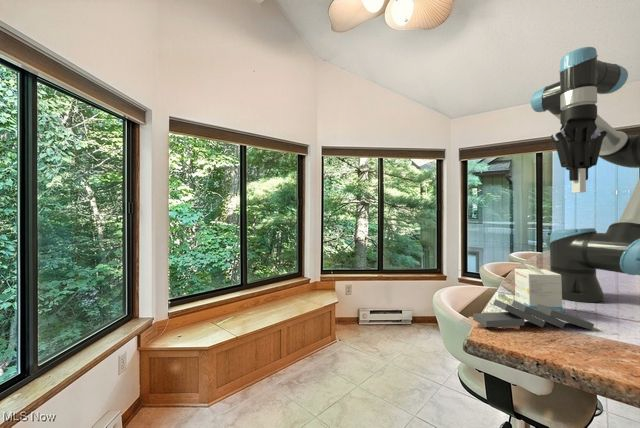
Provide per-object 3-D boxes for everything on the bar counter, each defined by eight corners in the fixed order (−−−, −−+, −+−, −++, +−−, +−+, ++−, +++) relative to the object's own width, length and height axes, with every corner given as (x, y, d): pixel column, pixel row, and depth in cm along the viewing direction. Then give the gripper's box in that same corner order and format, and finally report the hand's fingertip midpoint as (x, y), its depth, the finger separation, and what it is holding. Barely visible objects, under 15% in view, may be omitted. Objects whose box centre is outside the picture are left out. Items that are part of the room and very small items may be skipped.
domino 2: (508, 311, 73) (473, 313, 73) (524, 319, 69) (486, 320, 68) (508, 317, 73) (473, 319, 73) (524, 325, 69) (486, 327, 68)
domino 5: (577, 316, 72) (538, 303, 73) (594, 324, 67) (551, 310, 68) (575, 322, 72) (536, 309, 73) (592, 330, 67) (549, 316, 68)
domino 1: (507, 317, 74) (468, 316, 75) (519, 325, 69) (477, 323, 70) (508, 323, 74) (468, 322, 75) (519, 331, 69) (477, 330, 70)
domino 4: (549, 315, 74) (513, 299, 74) (565, 322, 69) (526, 306, 69) (547, 320, 74) (511, 305, 74) (562, 328, 69) (523, 311, 69)
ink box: (563, 317, 76) (563, 268, 76) (529, 315, 78) (528, 267, 78) (545, 306, 85) (544, 263, 85) (514, 305, 86) (513, 262, 86)
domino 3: (530, 315, 74) (495, 299, 74) (545, 321, 69) (507, 304, 69) (528, 320, 74) (492, 304, 74) (542, 327, 69) (504, 310, 69)
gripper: (591, 111, 80) (592, 193, 80) (543, 113, 81) (544, 193, 81) (616, 101, 73) (617, 191, 73) (563, 103, 74) (564, 191, 74)
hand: (578, 192), depth 77 cm, fingers closed
